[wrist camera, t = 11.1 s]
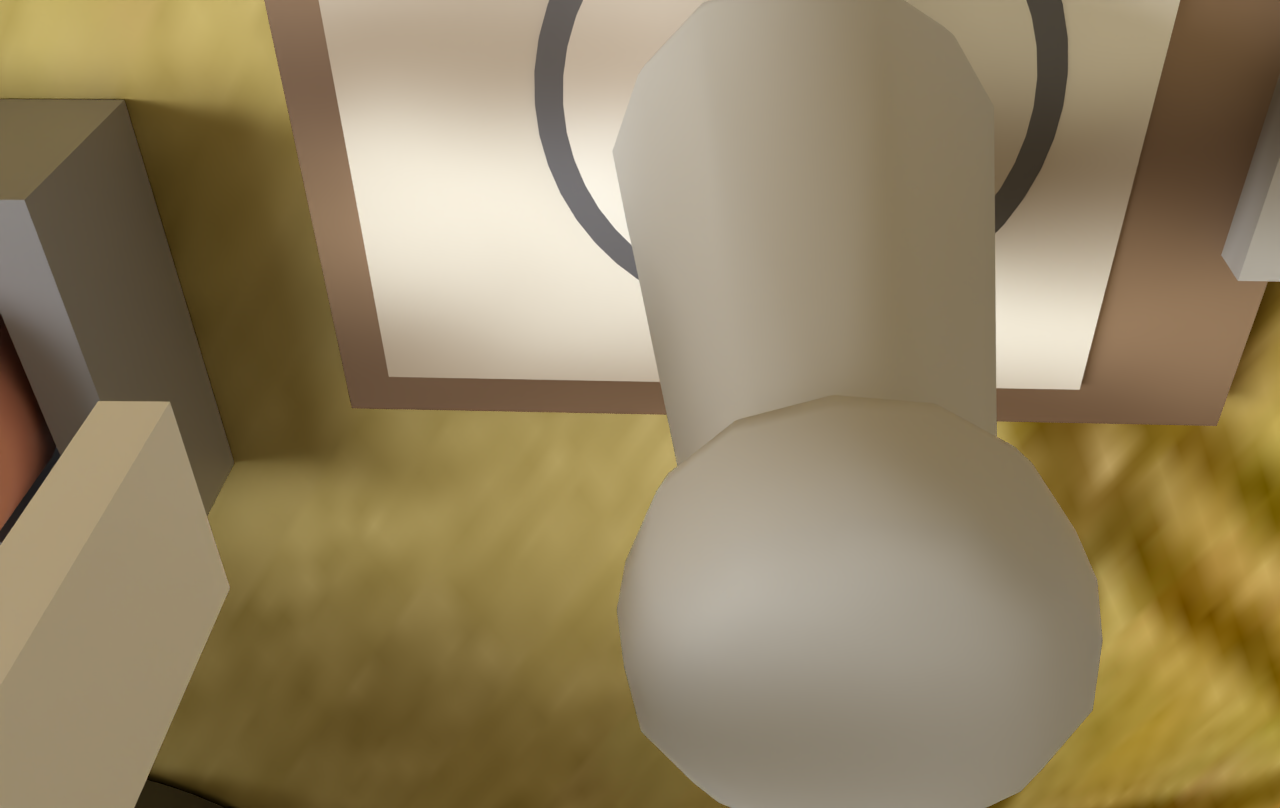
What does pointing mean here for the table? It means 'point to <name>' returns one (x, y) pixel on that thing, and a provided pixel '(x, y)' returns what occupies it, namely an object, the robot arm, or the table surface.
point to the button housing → (96, 281)
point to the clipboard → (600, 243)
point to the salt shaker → (837, 426)
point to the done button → (19, 430)
